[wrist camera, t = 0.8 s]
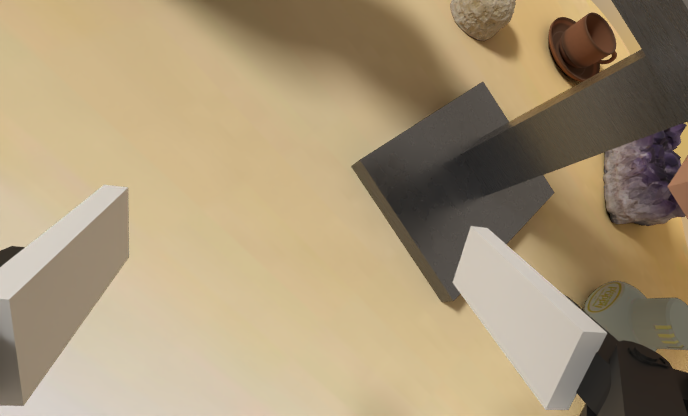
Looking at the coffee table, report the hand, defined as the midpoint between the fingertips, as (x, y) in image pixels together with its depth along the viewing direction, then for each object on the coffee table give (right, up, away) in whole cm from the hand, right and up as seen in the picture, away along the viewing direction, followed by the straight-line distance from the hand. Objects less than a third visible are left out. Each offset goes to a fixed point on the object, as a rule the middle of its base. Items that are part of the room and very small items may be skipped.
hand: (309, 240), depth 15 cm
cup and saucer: (+39, +27, +53) cm, 72 cm away
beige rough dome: (+21, +30, +44) cm, 57 cm away
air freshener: (+36, -15, +39) cm, 56 cm away
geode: (+47, +7, +51) cm, 69 cm away
